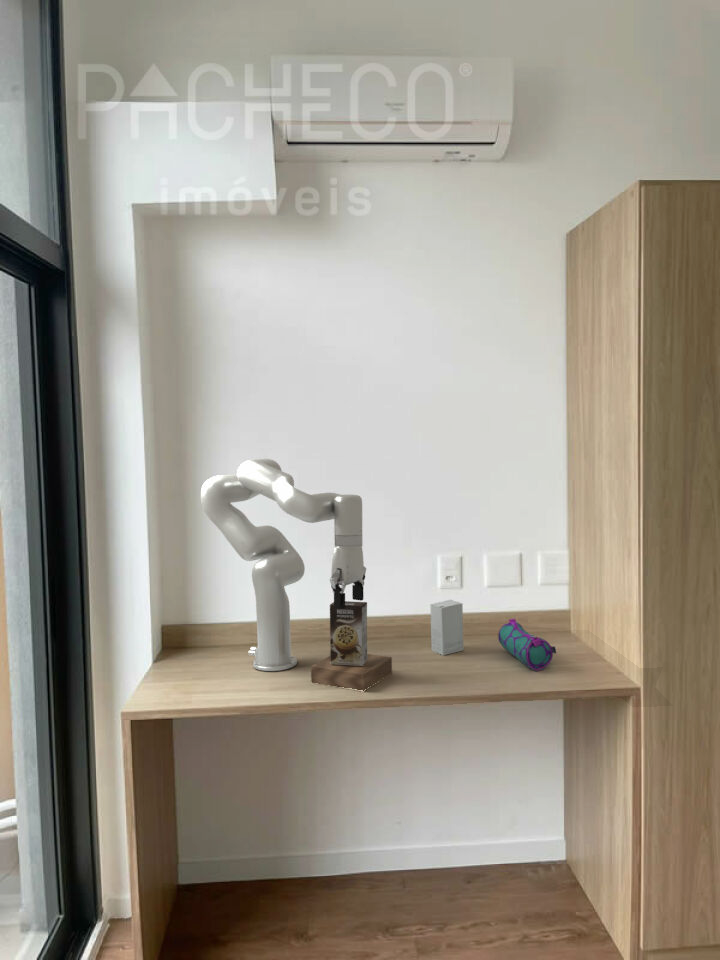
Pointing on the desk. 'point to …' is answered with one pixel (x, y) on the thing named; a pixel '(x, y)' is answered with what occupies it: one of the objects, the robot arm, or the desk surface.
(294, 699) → the desk surface
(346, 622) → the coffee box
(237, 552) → the robot arm
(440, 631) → the skincare box
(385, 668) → the walnut block
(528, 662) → the pencil case
